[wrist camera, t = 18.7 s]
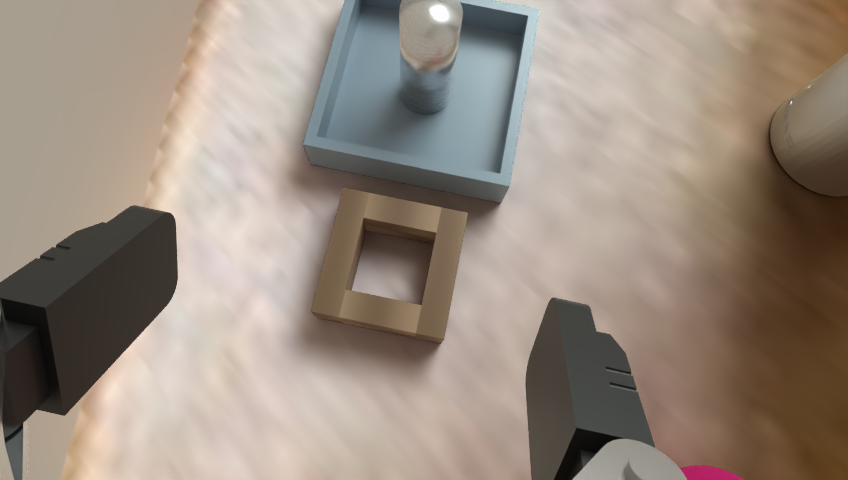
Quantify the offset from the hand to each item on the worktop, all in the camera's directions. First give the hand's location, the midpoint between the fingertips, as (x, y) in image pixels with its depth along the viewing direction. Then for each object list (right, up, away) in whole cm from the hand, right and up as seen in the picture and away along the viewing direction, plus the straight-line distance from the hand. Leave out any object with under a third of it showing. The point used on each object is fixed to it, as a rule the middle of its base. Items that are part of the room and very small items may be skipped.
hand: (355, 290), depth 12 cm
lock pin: (+2, +13, +32) cm, 35 cm away
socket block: (-1, -1, +29) cm, 29 cm away
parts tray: (+2, +13, +33) cm, 36 cm away
